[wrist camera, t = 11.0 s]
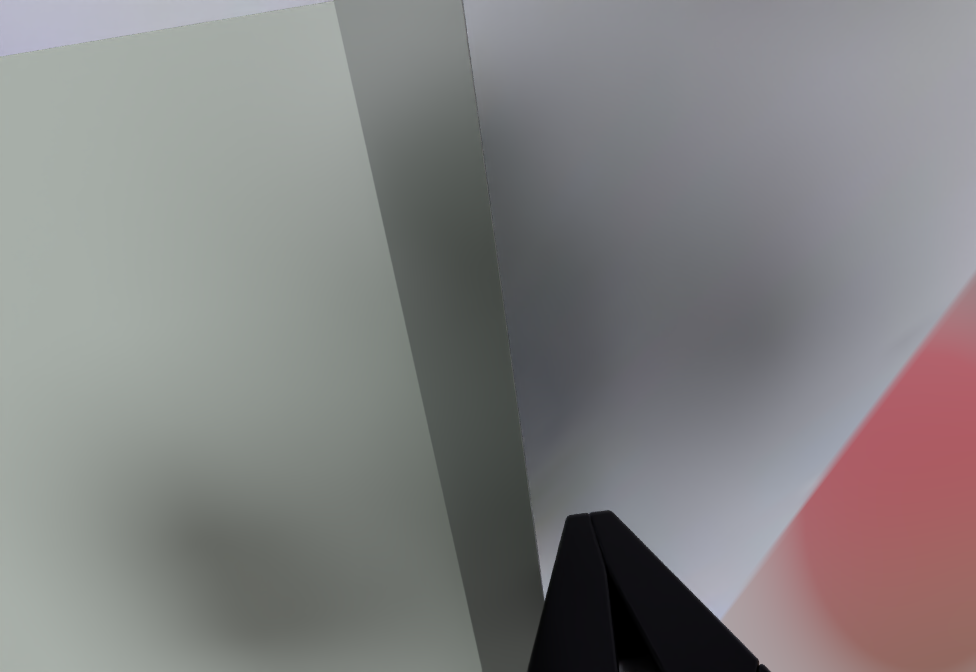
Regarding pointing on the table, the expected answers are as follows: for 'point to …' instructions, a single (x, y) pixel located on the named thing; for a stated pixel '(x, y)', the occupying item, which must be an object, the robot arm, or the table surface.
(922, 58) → the table surface
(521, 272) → the table surface
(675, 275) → the table surface
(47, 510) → the lid
